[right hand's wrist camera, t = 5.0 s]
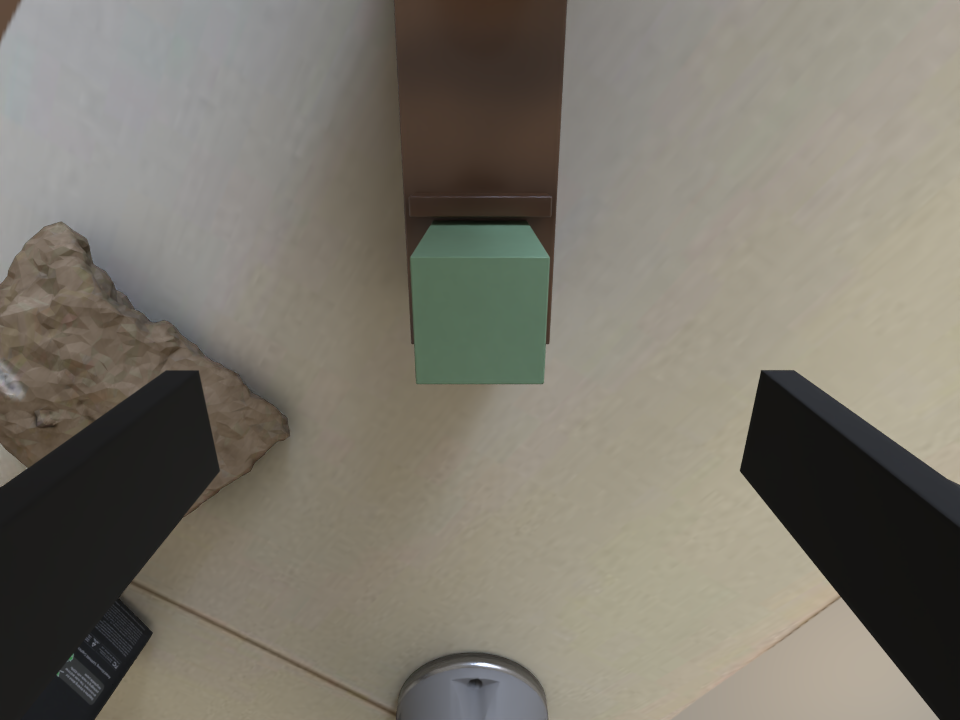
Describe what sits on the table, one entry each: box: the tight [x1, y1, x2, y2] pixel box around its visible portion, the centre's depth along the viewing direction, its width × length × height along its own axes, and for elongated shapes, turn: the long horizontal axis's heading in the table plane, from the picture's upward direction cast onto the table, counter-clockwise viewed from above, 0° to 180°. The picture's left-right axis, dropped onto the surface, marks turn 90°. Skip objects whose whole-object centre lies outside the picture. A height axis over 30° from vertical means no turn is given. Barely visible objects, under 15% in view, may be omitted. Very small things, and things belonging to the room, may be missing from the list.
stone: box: [0, 222, 290, 517], centre depth 39 cm, size 21×15×6 cm
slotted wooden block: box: [394, 0, 567, 344], centre depth 29 cm, size 26×8×11 cm, turn 0°
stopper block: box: [410, 221, 550, 384], centre depth 25 cm, size 5×5×10 cm
